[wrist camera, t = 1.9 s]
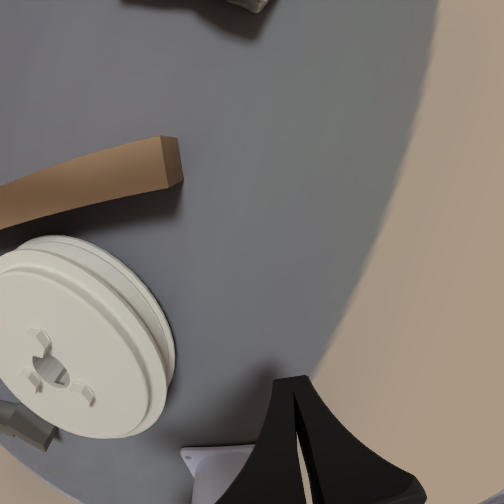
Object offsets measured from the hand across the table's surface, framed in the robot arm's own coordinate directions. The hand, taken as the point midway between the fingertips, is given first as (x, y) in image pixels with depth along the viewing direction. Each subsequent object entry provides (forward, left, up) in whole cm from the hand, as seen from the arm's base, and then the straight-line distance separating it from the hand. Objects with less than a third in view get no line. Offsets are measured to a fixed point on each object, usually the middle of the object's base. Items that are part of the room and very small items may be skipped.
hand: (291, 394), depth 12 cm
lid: (+1, +12, -6) cm, 13 cm away
